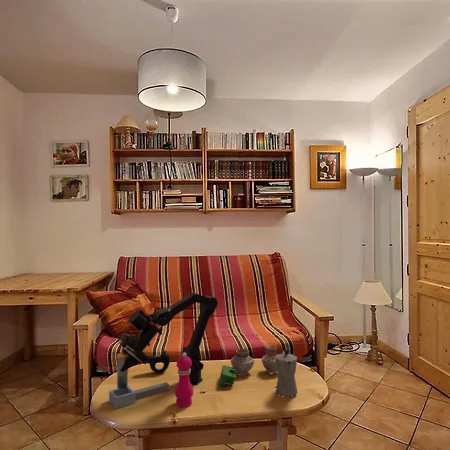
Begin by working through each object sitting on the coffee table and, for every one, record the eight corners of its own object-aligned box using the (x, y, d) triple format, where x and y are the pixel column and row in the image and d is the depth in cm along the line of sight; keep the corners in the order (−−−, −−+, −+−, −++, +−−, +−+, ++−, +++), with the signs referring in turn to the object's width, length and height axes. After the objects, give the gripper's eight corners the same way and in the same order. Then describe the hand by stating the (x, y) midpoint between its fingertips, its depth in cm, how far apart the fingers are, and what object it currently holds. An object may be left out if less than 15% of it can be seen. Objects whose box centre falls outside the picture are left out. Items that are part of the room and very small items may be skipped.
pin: (128, 384, 144) (128, 352, 144) (126, 388, 140) (126, 355, 140) (118, 384, 144) (119, 352, 144) (115, 388, 140) (116, 355, 140)
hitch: (163, 385, 156) (163, 376, 156) (171, 392, 150) (171, 382, 150) (109, 400, 142) (109, 390, 142) (115, 408, 136) (115, 397, 136)
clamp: (230, 395, 156) (235, 380, 153) (217, 392, 156) (222, 377, 153) (233, 375, 167) (237, 360, 164) (220, 372, 167) (225, 357, 164)
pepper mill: (176, 399, 143) (176, 349, 144) (194, 399, 143) (194, 349, 144) (173, 408, 136) (173, 355, 137) (192, 408, 136) (192, 356, 136)
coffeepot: (301, 400, 143) (301, 355, 143) (278, 400, 142) (278, 355, 143) (292, 384, 158) (292, 343, 159) (271, 384, 158) (271, 343, 158)
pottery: (284, 376, 167) (284, 350, 167) (232, 378, 164) (232, 352, 165) (278, 367, 178) (278, 343, 178) (229, 369, 176) (229, 344, 176)
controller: (170, 373, 170) (170, 352, 171) (144, 375, 168) (144, 354, 168) (170, 369, 175) (170, 349, 175) (144, 371, 172) (144, 351, 172)
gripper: (124, 320, 152) (97, 351, 145) (141, 330, 137) (112, 365, 130) (141, 336, 156) (116, 366, 150) (159, 347, 141) (133, 381, 135)
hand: (119, 369), depth 141 cm, fingers closed on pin, 4 cm apart
